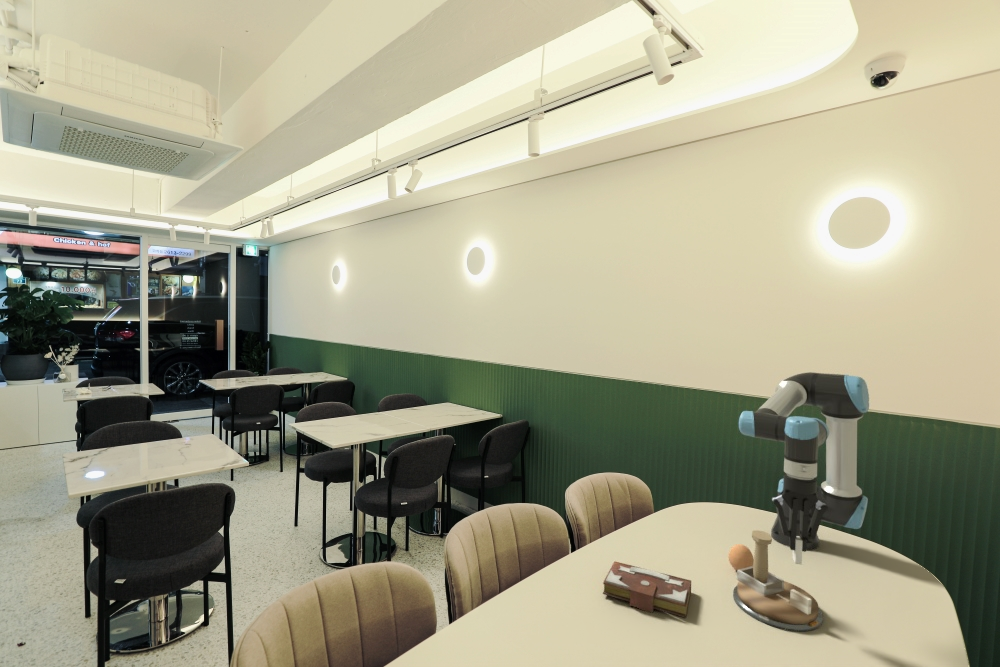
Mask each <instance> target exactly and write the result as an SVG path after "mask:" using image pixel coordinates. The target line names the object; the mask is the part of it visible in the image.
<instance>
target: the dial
mask: <svg viewBox="0 0 1000 667" xmlns="http://www.w3.org/2000/svg"><path fill="white" fill-rule="evenodd" d="M736 580H737V581H738V582H737V585H736V586H737V594H738V597H739V599H740V600H741V601H742V602H743V603H744V604H745V605H746V606H747V607H748V608H750V609H751V610H753V611H755V612H756V613H758V614H761V615H763V616H765V617H768V618H770V619H773V620H776V621H779V622H784V623H789V624H808V623H812V622H814V621H815V620H816V619H817V618H818V610H819V609H820V607H819V603H818V601H817V600H816V599H815V597H814V596H812V595H811V594H810V593H809V592H807V591H806V590H805V589H802V588H801V587H799V586H797V585H795V584H793V583H791V582H788V581H786V580H784V579H783V578H780V577H778V576H776V575H775V574H773V573H771V572H770V571H768V577H767V581H766V582H767V583H766V584H763V583H761V582H760V581H758V580H756V579H755V578H754V575H753V566H751V567H747V568H743V569H739V570H736Z"/></svg>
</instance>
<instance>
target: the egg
mask: <svg viewBox="0 0 1000 667" xmlns="http://www.w3.org/2000/svg"><path fill="white" fill-rule="evenodd" d="M728 561H729V564H730V566H732V568H733V569H734V570H736V571H737V570H739V569H743V568H747V567H751V566H753V562H754V554H753V552H751V550H750V549H749V547H747V545H744V544H742V543H739V544H734V545H733V546H732V547H731V548H730V550H729V552H728Z"/></svg>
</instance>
